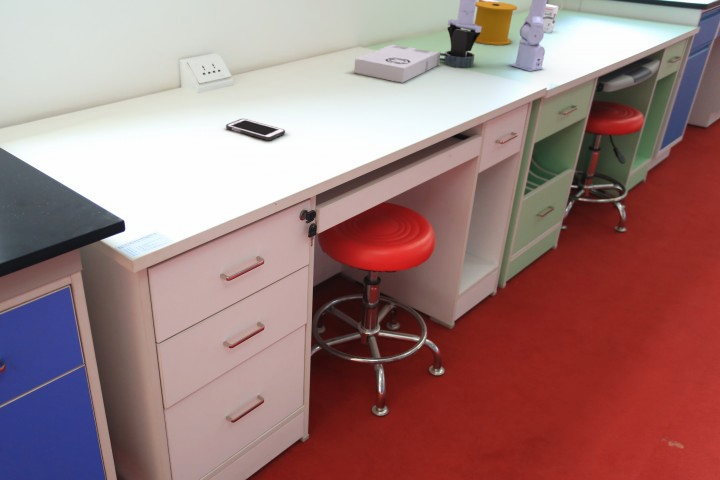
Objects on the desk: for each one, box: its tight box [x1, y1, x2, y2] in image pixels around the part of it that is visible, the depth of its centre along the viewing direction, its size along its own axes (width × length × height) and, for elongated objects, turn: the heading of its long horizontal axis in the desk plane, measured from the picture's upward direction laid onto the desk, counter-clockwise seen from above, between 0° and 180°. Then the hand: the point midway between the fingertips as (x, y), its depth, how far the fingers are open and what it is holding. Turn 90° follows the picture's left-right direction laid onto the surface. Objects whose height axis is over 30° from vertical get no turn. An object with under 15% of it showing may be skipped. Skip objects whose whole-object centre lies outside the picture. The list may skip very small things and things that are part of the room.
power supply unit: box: [353, 43, 442, 84], centre depth 244 cm, size 19×33×5 cm, turn 149°
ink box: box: [543, 3, 560, 34], centre depth 321 cm, size 9×5×12 cm, turn 48°
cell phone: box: [225, 118, 286, 141], centre depth 180 cm, size 8×15×1 cm, turn 57°
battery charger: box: [450, 28, 469, 57], centre depth 254 cm, size 7×4×11 cm, turn 46°
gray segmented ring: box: [439, 50, 476, 69], centre depth 256 cm, size 14×11×4 cm
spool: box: [474, 1, 518, 46], centre depth 294 cm, size 18×18×15 cm
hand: (460, 48), depth 254 cm, fingers closed on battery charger, 7 cm apart
